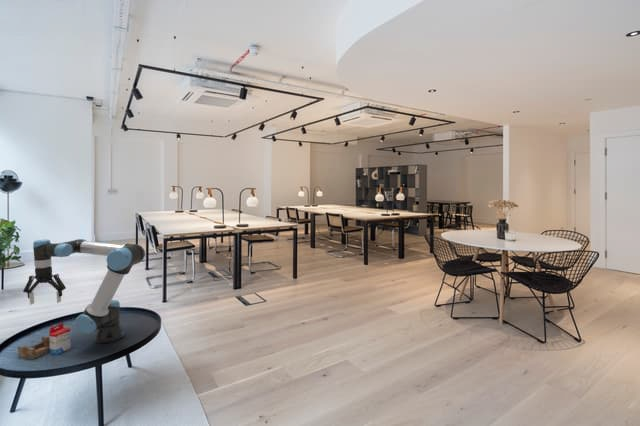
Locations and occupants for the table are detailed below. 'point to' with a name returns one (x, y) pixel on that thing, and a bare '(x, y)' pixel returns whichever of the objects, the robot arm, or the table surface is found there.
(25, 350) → the wooden crate
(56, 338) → the red white carton
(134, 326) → the table surface
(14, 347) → the table surface
